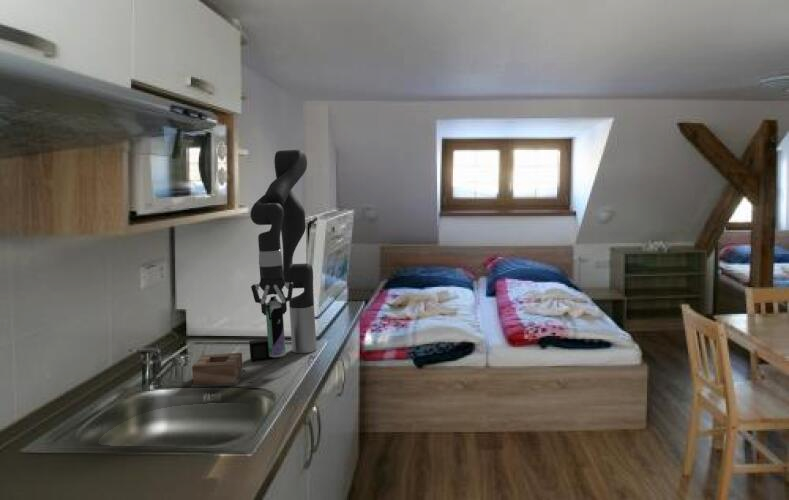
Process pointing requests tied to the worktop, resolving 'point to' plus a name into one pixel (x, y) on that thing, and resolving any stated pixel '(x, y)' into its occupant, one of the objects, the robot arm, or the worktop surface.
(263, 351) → the digital camera
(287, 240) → the robot arm
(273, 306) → the spray can
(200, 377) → the socket block
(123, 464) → the worktop surface
